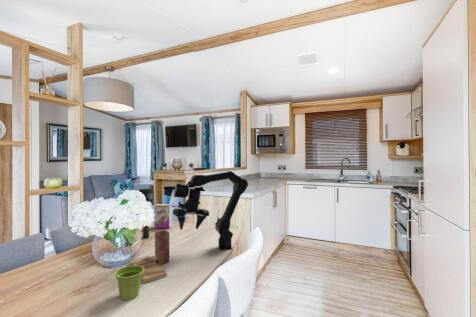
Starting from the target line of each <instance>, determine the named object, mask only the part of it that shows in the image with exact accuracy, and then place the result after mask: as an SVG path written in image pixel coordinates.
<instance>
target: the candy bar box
mask: <svg viewBox="0 0 476 317" xmlns="http://www.w3.org/2000/svg"><path fill="white" fill-rule="evenodd" d="M153 205H154V212H155V221H154V222H153V223H154V225H153V226H154V227H153V228H154V229H165V228H169V229H171V228H172V227H171V226H173V225H172V224H173V222H172V221H173V219H172V218H173V205H172V203H170V204H169V203H156V204H153ZM154 212H153V213H154ZM170 227H171V228H170Z"/></svg>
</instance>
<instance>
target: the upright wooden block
mask: <svg viewBox="0 0 476 317" xmlns="http://www.w3.org/2000/svg"><path fill="white" fill-rule="evenodd" d="M146 257H147V256H146ZM153 260H154V261H155V262H156V263H157V264H158V265H159V266H161V265H165V264H168V263H170V232H169V230H167V229H160V230H157V231H155V232H154V255H152V256H151V255H150V257H147V258H143V259H139V260H136V264H137V265H138V264H142V263H146V262H149V261H153Z"/></svg>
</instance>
